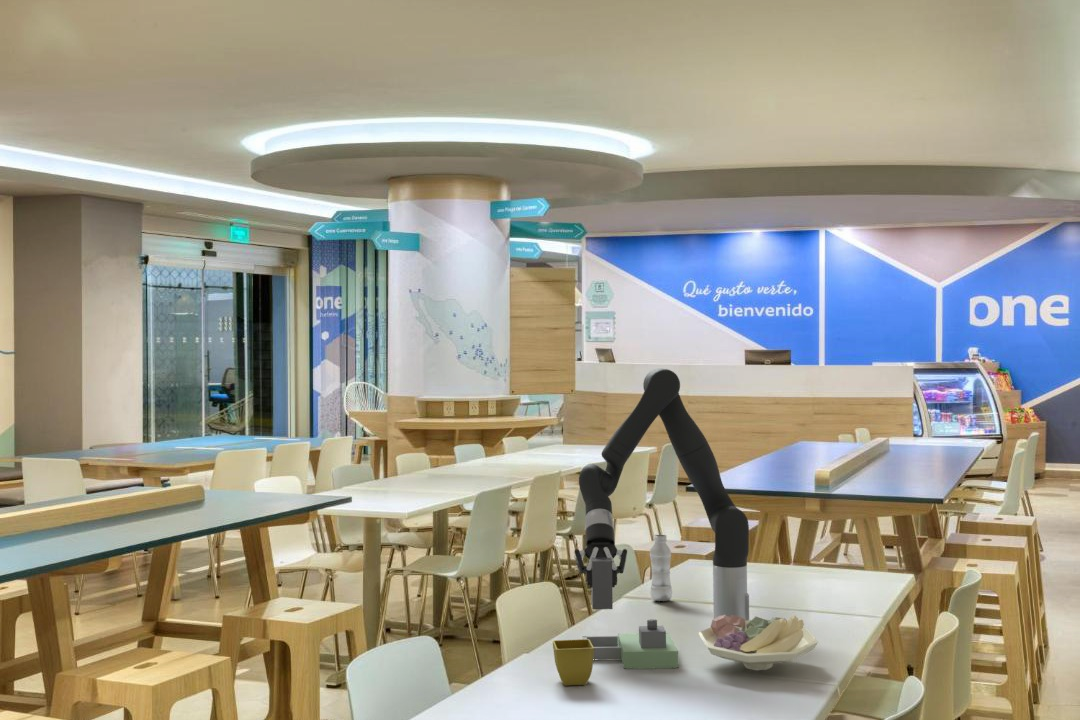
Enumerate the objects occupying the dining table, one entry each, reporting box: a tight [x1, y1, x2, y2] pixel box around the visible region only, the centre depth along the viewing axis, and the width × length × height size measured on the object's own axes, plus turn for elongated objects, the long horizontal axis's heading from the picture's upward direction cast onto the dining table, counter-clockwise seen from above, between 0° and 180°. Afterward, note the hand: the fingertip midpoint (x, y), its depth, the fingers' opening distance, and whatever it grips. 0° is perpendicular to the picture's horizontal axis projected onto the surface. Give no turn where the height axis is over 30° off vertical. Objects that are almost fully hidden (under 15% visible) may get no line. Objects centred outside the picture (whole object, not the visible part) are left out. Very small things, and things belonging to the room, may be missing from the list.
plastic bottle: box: [649, 534, 673, 602], centre depth 344 cm, size 6×7×20 cm
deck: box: [582, 618, 679, 669], centre depth 280 cm, size 22×20×10 cm
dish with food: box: [698, 615, 819, 671], centre depth 270 cm, size 28×28×14 cm
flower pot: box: [552, 638, 594, 687], centre depth 259 cm, size 9×9×9 cm
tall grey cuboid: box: [591, 557, 614, 610], centre depth 285 cm, size 5×6×12 cm
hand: (602, 585), depth 283 cm, fingers closed on tall grey cuboid, 5 cm apart
